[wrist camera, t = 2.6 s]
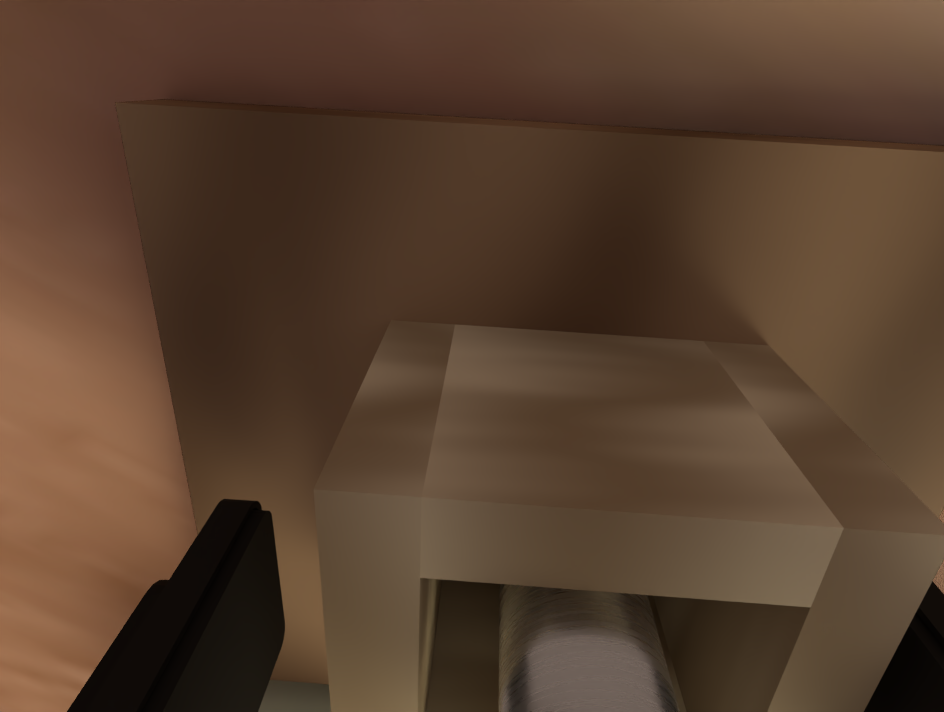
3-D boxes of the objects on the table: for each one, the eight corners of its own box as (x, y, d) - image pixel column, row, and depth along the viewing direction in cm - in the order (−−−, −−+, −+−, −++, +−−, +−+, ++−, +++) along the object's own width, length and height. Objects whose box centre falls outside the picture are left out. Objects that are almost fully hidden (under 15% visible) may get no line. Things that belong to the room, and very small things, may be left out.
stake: (623, 441, 12) (723, 745, 7) (605, 532, 13) (679, 861, 8) (505, 432, 12) (506, 727, 7) (496, 524, 13) (491, 845, 8)
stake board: (1039, 151, 11) (1116, 162, 9) (808, 672, 17) (834, 724, 15) (163, 99, 11) (114, 103, 10) (247, 628, 17) (224, 676, 16)
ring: (768, 345, 11) (955, 536, 6) (688, 615, 14) (777, 874, 9) (391, 320, 11) (313, 489, 7) (393, 593, 14) (341, 837, 10)
